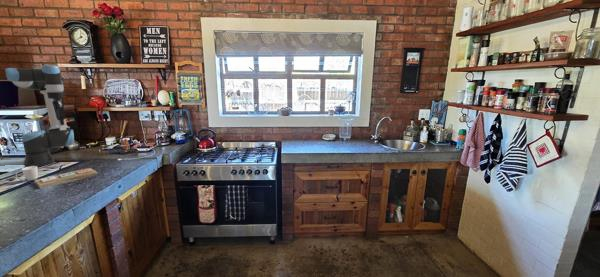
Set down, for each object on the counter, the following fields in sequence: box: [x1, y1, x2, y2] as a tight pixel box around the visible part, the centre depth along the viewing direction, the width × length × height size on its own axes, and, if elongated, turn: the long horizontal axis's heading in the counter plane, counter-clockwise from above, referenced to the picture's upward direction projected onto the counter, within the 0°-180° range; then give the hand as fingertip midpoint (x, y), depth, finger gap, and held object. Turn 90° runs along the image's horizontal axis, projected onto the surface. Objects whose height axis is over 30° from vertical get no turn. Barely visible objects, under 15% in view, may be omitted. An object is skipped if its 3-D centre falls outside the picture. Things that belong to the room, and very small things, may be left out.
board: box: [33, 167, 99, 190], centre depth 151 cm, size 13×26×2 cm, turn 145°
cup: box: [15, 166, 39, 182], centre depth 148 cm, size 7×10×8 cm
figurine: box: [118, 138, 137, 156], centre depth 209 cm, size 10×10×12 cm
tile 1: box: [39, 175, 57, 183], centre depth 145 cm, size 6×6×3 cm
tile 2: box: [58, 171, 75, 179], centre depth 151 cm, size 6×6×3 cm
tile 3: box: [75, 168, 91, 175], centre depth 158 cm, size 6×6×3 cm
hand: (63, 129), depth 157 cm, fingers closed
